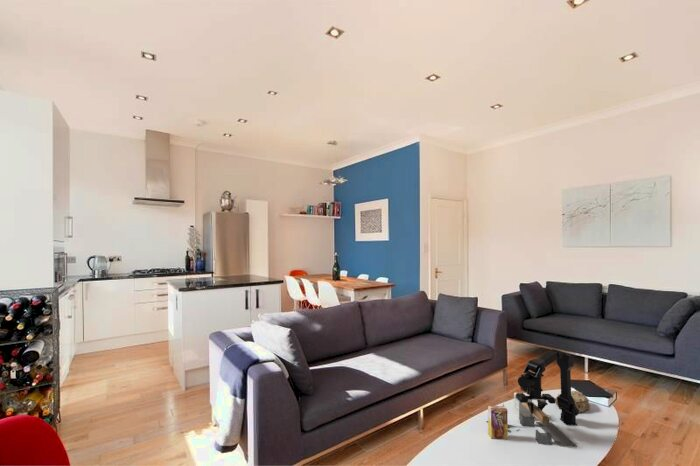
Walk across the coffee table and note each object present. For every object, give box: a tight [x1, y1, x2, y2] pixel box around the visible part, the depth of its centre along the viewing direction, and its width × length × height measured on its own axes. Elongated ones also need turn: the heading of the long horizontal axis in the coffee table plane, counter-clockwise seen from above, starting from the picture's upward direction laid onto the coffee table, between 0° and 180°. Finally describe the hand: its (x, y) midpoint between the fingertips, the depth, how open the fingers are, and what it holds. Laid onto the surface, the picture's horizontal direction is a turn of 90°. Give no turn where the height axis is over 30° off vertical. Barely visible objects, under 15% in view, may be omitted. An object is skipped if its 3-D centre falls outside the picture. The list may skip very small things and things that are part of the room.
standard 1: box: [519, 414, 536, 428], centre depth 186 cm, size 7×3×6 cm, turn 89°
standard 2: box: [535, 429, 553, 445], centre depth 170 cm, size 7×3×6 cm, turn 89°
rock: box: [554, 390, 591, 414], centre depth 208 cm, size 21×14×10 cm
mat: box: [535, 421, 578, 448], centre depth 178 cm, size 9×22×1 cm, turn 179°
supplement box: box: [513, 392, 531, 420], centre depth 195 cm, size 7×7×13 cm
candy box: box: [487, 405, 509, 440], centre depth 174 cm, size 9×4×15 cm, turn 89°
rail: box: [522, 401, 550, 424], centre depth 178 cm, size 4×20×4 cm, turn 0°
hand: (535, 413), depth 178 cm, fingers closed on rail, 3 cm apart
